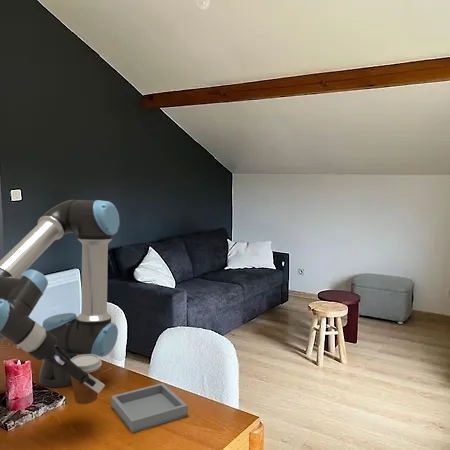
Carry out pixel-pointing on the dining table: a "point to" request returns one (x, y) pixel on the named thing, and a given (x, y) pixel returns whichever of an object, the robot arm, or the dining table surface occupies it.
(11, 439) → the dining table surface
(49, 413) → the dining table surface
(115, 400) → the tray
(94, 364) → the disposable coffee cup
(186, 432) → the dining table surface
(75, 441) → the dining table surface
